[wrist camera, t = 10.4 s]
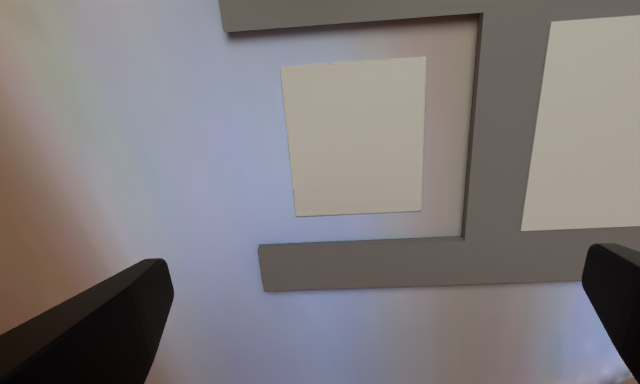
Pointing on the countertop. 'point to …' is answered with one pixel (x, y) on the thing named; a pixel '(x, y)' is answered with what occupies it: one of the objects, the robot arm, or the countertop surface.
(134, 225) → the countertop surface
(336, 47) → the countertop surface
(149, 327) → the robot arm
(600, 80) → the label board
